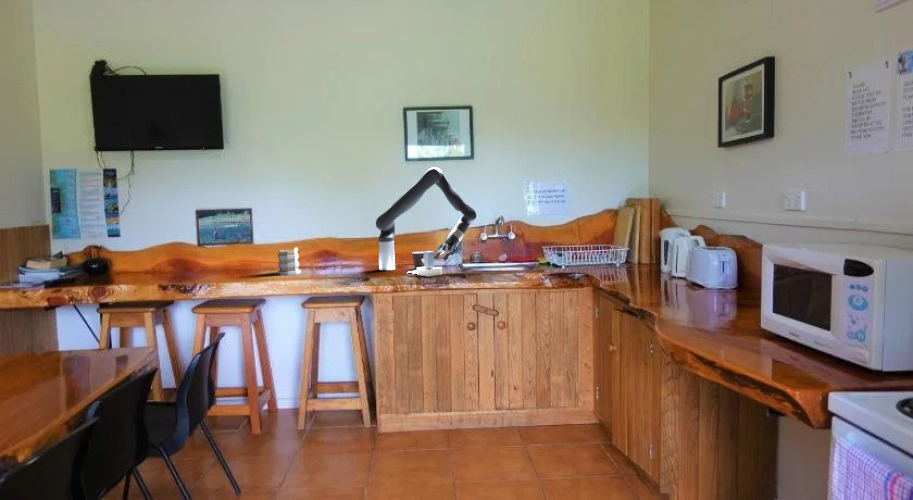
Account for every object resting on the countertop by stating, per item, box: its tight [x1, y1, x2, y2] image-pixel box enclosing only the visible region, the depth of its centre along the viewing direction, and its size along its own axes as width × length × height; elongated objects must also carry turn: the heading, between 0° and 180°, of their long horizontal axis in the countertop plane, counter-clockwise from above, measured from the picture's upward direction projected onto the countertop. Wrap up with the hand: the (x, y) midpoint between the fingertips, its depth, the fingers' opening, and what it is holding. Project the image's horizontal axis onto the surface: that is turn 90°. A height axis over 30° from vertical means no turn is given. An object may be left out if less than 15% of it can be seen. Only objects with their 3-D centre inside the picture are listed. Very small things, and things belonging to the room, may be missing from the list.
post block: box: [407, 266, 443, 278], centre depth 329 cm, size 20×10×4 cm, turn 39°
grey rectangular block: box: [423, 250, 435, 269], centre depth 325 cm, size 4×4×12 cm
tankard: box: [276, 246, 302, 276], centre depth 354 cm, size 20×13×15 cm, turn 168°
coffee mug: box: [412, 251, 425, 270], centre depth 354 cm, size 12×9×10 cm
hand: (439, 259), depth 329 cm, fingers open, 8 cm apart
